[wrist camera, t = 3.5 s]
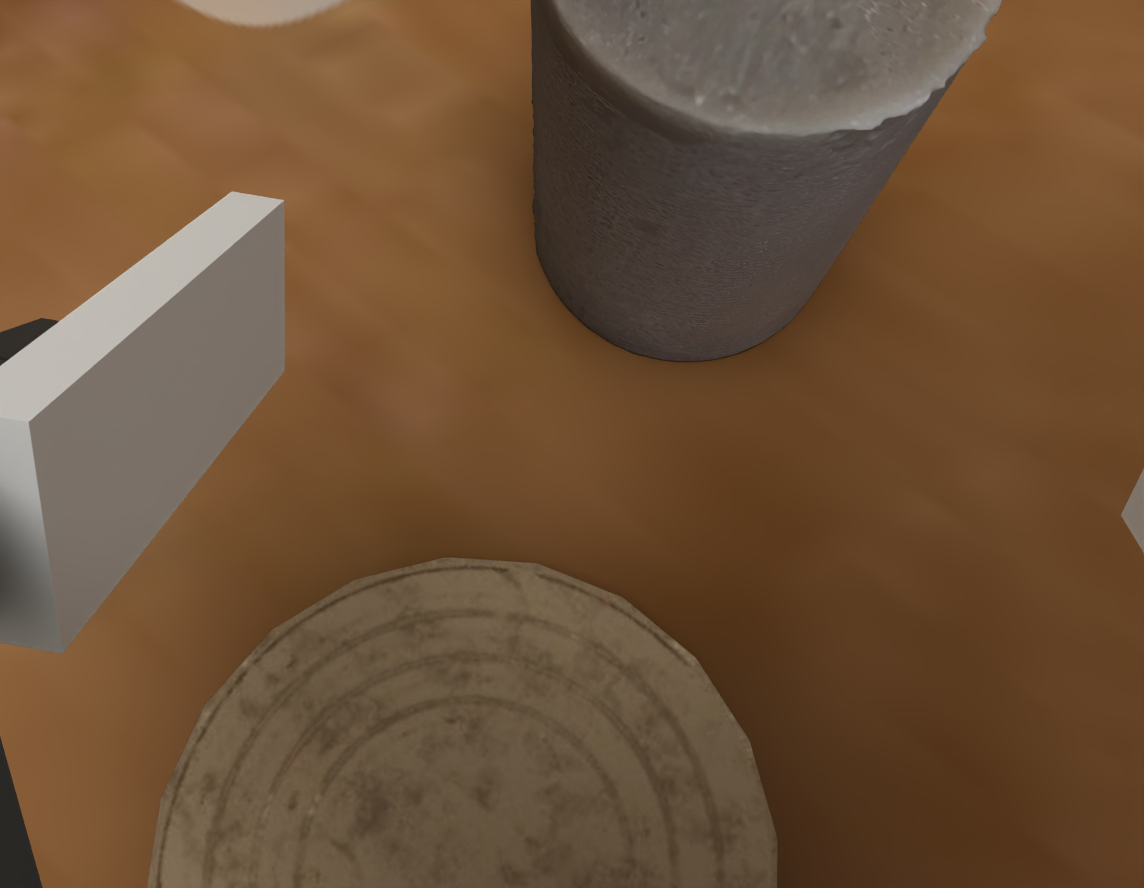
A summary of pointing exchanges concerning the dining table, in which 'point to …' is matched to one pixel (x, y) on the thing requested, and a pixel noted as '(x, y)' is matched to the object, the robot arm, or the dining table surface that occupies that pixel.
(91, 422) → the robot arm
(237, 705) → the wood log slice
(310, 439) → the dining table surface
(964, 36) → the pillar candle
